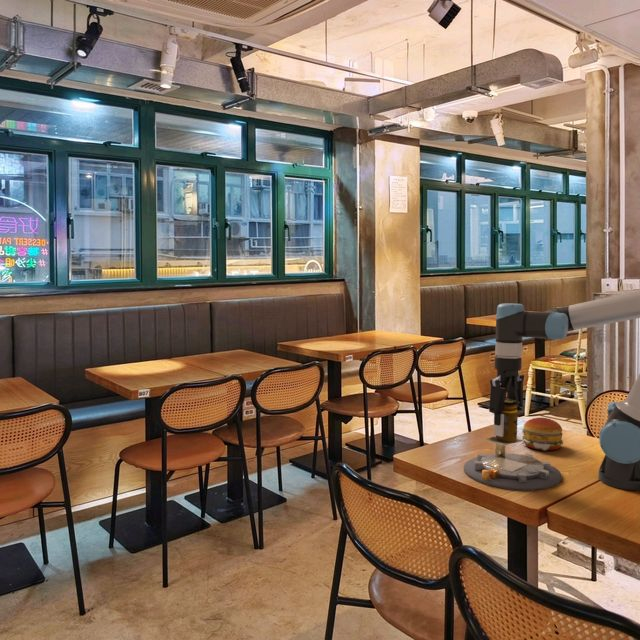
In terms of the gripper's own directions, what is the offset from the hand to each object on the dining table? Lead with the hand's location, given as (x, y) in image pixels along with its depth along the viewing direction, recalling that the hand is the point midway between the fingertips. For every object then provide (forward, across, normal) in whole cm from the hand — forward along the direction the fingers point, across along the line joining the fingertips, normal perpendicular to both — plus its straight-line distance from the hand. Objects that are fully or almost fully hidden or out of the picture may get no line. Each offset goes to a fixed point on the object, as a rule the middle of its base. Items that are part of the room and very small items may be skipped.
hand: (505, 433), depth 183 cm
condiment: (+2, +1, 0) cm, 2 cm away
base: (+13, -4, 0) cm, 13 cm away
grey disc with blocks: (+12, -4, 0) cm, 12 cm away
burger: (+13, -35, -9) cm, 38 cm away
